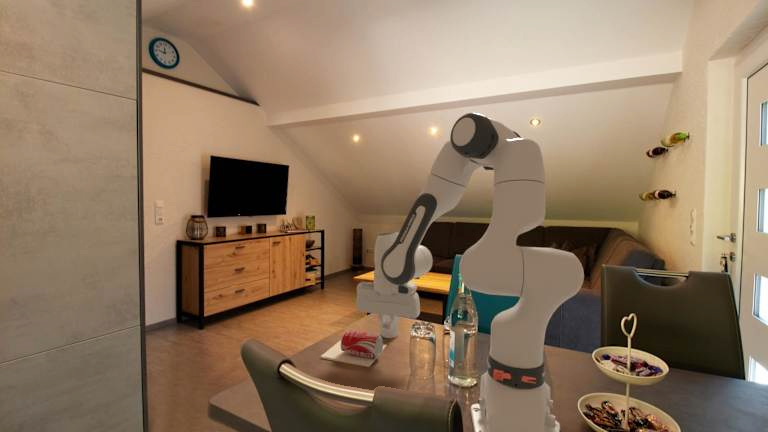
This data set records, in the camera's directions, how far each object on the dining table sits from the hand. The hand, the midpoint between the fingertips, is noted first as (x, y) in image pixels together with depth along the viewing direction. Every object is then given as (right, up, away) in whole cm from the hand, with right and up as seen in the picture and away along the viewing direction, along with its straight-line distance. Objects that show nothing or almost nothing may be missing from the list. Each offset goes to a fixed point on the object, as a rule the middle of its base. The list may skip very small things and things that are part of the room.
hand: (386, 328), depth 111 cm
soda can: (-2, -5, -2) cm, 6 cm away
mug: (+2, -9, +21) cm, 23 cm away
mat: (-10, -9, +4) cm, 14 cm away
